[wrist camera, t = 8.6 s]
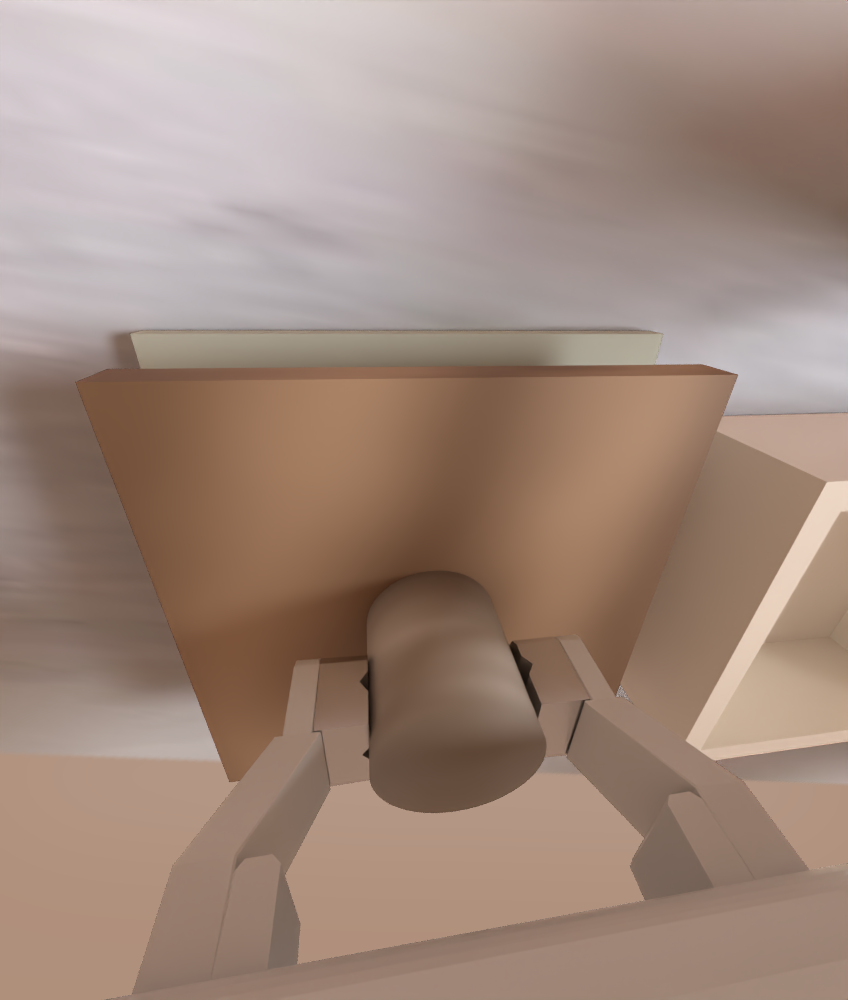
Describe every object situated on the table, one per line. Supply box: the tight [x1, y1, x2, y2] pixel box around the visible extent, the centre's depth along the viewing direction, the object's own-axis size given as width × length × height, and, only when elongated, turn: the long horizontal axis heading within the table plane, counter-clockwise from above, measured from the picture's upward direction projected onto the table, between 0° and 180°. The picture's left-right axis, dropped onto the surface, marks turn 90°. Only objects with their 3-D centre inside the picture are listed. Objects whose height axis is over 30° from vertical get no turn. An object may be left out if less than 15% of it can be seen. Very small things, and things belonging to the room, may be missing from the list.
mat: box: [130, 330, 663, 369], centre depth 14 cm, size 13×13×1 cm
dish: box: [620, 413, 848, 760], centre depth 14 cm, size 11×11×4 cm
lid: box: [75, 364, 738, 813], centre depth 9 cm, size 12×12×4 cm
